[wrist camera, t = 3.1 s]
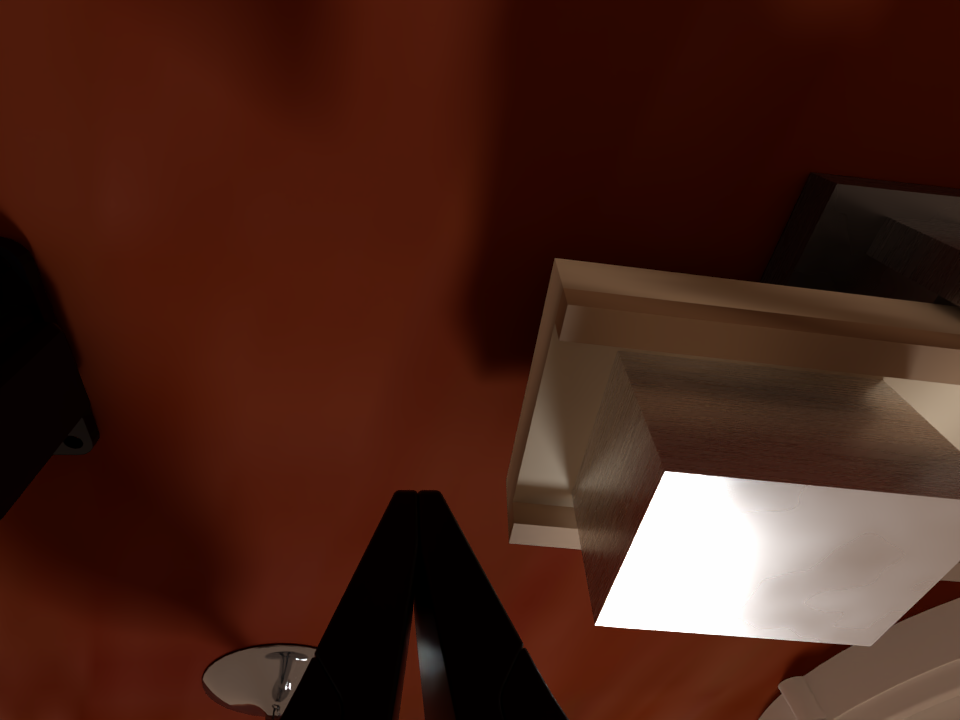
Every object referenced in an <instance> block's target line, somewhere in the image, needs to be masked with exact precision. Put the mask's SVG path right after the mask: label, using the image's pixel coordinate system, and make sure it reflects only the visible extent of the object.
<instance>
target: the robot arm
mask: <svg viewBox="0 0 960 720" xmlns="http://www.w3.org/2000/svg"><path fill="white" fill-rule="evenodd" d="M0 256H2V257H3V258H5V259H6V260H7V261H8V262H9V263H10V265H11V267H9V266H6V265H5V264H3V263H1V262H0V520H1V519H2V518H3V517H4V516H5V514H6V513H7V512H8V510H9V509H10V508H11V507H12V505H13V504H14V503H15V502H16V500H17V499H18V498H19V497H20V495H21V494H22V493H23V491H24V490H25V489H26V488H27V486H28V485H29V484H30V483H31V481H32V480H33V479H34V478H35V476H36V475H37V474H38V472H39V471H40V470H41V469H42V467H43V466H44V465H45V464H46V462H47V461H48V460H49V459H50V457H51V456H52V455H53V454H54V455H81V454H86V453H88V452H90V451H91V450H92V448H93V447H94V445H95V444H96V443H97V441H98V440H99V438H100V437H99V431H98V429H97V426H96V423H95V421H94V418H93V416H92V413H91V410H90V401H89V398H88V396H87V393H86V390H85V388H84V385H83V383H82V380H81V377H80V375H79V372H78V369H77V367H76V364H75V361H74V359H73V356H72V353H71V351H70V348H69V345H68V343H67V340H66V337H65V335H64V332H63V331H62V330H61V329H60V328H59V326H58V323H57V321H56V318H55V315H54V313H53V310H52V307H51V305H50V302H49V299H48V297H47V294H46V292H45V289H44V286H43V284H42V281H41V278H40V276H39V273H38V270H37V268H36V265H35V263H34V260H33V258H32V256H31V255H30V253H29V251H28V250H27V249H25V248H24V247H23V246H22V245H21V244H19V243H17V242H15V241H14V240H12V239H8V238H3V237H0ZM74 436H76V437H78V438H76V437H74ZM413 604H414V614H415V626H416V636H417V646H418V655H419V665H420V675H421V684H422V694H423V704H424V714H425V720H569V719H568V718H567V716H566V715H565V713H564V712H563V710H562V709H561V707H560V706H559V704H558V703H557V701H556V700H555V698H554V697H553V695H552V693H551V691H550V690H549V688H548V686H547V685H546V683H545V681H544V679H543V678H542V676H541V674H540V673H539V671H538V669H537V667H536V666H535V664H534V662H533V660H532V658H531V656H530V655H529V653H528V651H527V649H526V648H523V642H522V640H521V638H520V637H519V635H518V633H517V631H516V629H515V627H514V626H513V624H512V622H511V620H510V618H509V616H508V615H507V613H506V611H505V609H504V607H503V605H502V604H501V602H500V600H499V598H498V596H497V594H496V593H495V591H494V589H493V587H492V585H491V583H490V582H489V580H488V578H487V576H486V574H485V572H484V571H483V569H482V567H481V565H480V563H479V561H478V560H477V558H476V556H475V554H474V552H473V550H472V549H471V547H470V545H469V543H468V541H467V539H466V538H465V536H464V534H463V532H462V530H461V528H460V527H459V525H458V523H457V521H456V519H455V517H454V516H453V514H452V512H451V510H450V508H449V506H448V505H447V503H446V501H445V499H444V497H443V495H442V494H441V493H440V492H439V491H437V490H421V491H419V492H418V494H417V492H416V491H414V490H398V491H396V492H395V493H394V495H393V497H392V499H391V501H390V503H389V505H388V507H387V509H386V511H385V513H384V515H383V517H382V519H381V521H380V523H379V525H378V527H377V529H376V531H375V533H374V535H373V537H372V539H371V541H370V543H369V545H368V547H367V549H366V551H365V553H364V555H363V557H362V559H361V561H360V563H359V565H358V567H357V569H356V571H355V573H354V575H353V577H352V579H351V581H350V583H349V585H348V587H347V589H346V591H345V593H344V595H343V597H342V599H341V601H340V603H339V605H338V607H337V609H336V611H335V613H334V615H333V617H332V619H331V621H330V623H329V625H328V627H327V629H326V631H325V633H324V635H323V637H322V639H321V641H320V643H319V645H318V647H317V649H316V651H315V653H314V657H313V658H312V659H311V660H310V662H309V664H308V666H307V668H306V670H305V672H304V674H303V676H302V678H301V680H300V682H299V684H298V686H297V688H296V690H295V691H294V693H293V695H292V697H291V699H290V701H289V703H288V705H287V706H286V708H285V710H284V712H283V714H282V716H281V717H280V719H279V720H399V712H400V705H401V697H402V690H403V683H404V675H405V668H406V660H407V653H408V645H409V638H410V631H411V623H412V614H413Z"/></svg>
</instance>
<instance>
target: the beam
mask: <svg viewBox="0 0 960 720" xmlns="http://www.w3.org/2000/svg"><path fill="white" fill-rule="evenodd" d="M618 351H626V352H635V353H644V354H653V355H662V356H671V357H680V358H689V359H698V360H707V361H716V362H725V363H734V364H743V365H752V366H761V367H770V368H779V369H789V370H798V371H807V372H816V373H825V374H834V375H843V376H852V377H861V378H870V379H879V380H884V381H885V382H886V383H887V384H888V385H889V386H890V387H891V388H892V389H894V390H895V391H896V392H897V393H898V394H899V395H900V396H901V397H902V398H903V399H904V400H905V401H906V402H908V403H909V404H910V405H911V406H912V407H913V408H914V409H915V410H916V411H917V412H918V413H919V414H920V415H921V416H923V417H924V418H925V419H926V420H927V421H928V422H929V423H930V424H931V425H932V426H933V427H934V428H935V429H937V430H938V431H939V432H940V433H941V434H942V435H943V436H944V437H945V438H946V439H947V440H948V441H949V442H950V443H952V444H953V445H954V446H955V447H956V448H957V449H958V450H959V451H960V307H959V306H957V305H955V304H954V303H952V302H950V301H948V300H946V299H945V298H943V297H941V296H939V295H938V296H937V298H936V299H935V301H934V302H933V304H932V303H923V302H915V301H907V300H899V299H890V298H882V297H874V296H866V295H857V294H849V293H841V292H833V291H824V290H816V289H808V288H799V287H791V286H783V285H775V284H766V283H758V282H750V281H742V280H733V279H725V278H717V277H709V276H700V275H692V274H684V273H675V272H667V271H659V270H651V269H642V268H634V267H626V266H618V265H609V264H601V263H593V262H585V261H576V260H568V259H560V258H555V259H554V263H553V268H552V273H551V277H550V282H549V286H548V291H547V296H546V300H545V305H544V309H543V314H542V318H541V323H540V328H539V332H538V337H537V341H536V346H535V351H534V355H533V360H532V364H531V369H530V373H529V378H528V383H527V387H526V392H525V396H524V401H523V406H522V410H521V415H520V419H519V424H518V428H517V433H516V438H515V442H514V447H513V451H512V456H511V461H510V465H509V470H508V474H507V479H506V487H507V509H508V531H509V543H512V544H524V545H536V546H548V547H559V548H571V549H581V545H580V539H579V534H578V528H577V523H576V517H575V511H574V506H573V500H572V495H571V494H572V491H573V488H574V484H575V481H576V478H577V475H578V472H579V469H580V466H581V463H582V460H583V457H584V454H585V451H586V448H587V444H588V441H589V438H590V435H591V432H592V429H593V426H594V423H595V420H596V417H597V414H598V411H599V408H600V404H601V401H602V398H603V395H604V392H605V389H606V386H607V383H608V380H609V377H610V374H611V371H612V368H613V364H614V361H615V358H616V355H617V352H618ZM940 580H945V581H957V582H960V561H959V562H958V563H957V564H956V565H955V566H954V567H953V568H952V569H951V570H950V571H949V572H948V573H947V574H946V575H945V576H944V577H943V578H942V579H940Z"/></svg>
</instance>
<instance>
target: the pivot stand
mask: <svg viewBox="0 0 960 720" xmlns="http://www.w3.org/2000/svg"><path fill="white" fill-rule="evenodd" d="M760 283H766V284H775V285H783V286H791V287H799V288H808V289H816V290H824V291H833V292H841V293H849V294H857V295H866V296H874V297H882V298H890V299H899V300H907V301H915V302H923V303H932V304H933V302H934V301H935V299H936V298H937V296H938V295H939V296H941V297H943V298H945V299H946V300H948V301H950V302H952V303H954V304H955V305H957V306H959V307H960V189H955V188H947V187H938V186H929V185H920V184H911V183H902V182H893V181H884V180H875V179H866V178H857V177H848V176H839V175H830V174H821V173H812V172H811V174H810V176H809V178H808V180H807V182H806V184H805V187H804V189H803V191H802V193H801V195H800V197H799V199H798V202H797V204H796V206H795V208H794V210H793V212H792V215H791V217H790V219H789V221H788V223H787V225H786V227H785V230H784V232H783V234H782V236H781V238H780V240H779V242H778V245H777V247H776V249H775V251H774V253H773V255H772V257H771V260H770V262H769V264H768V266H767V268H766V270H765V272H764V275H763V277H762V279H761V281H760Z"/></svg>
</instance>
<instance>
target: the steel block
mask: <svg viewBox="0 0 960 720" xmlns="http://www.w3.org/2000/svg"><path fill="white" fill-rule="evenodd" d="M571 495H572V500H573V506H574V511H575V517H576V523H577V528H578V534H579V539H580V545H581V551H582V556H583V562H584V567H585V573H586V578H587V584H588V590H589V595H590V601H591V606H592V612H593V618H594V623H595V625H596V626H610V627H623V628H636V629H649V630H662V631H675V632H688V633H701V634H714V635H728V636H741V637H754V638H767V639H780V640H793V641H806V642H819V643H832V644H846V645H859V646H872V645H873V644H874V643H875V642H876V641H877V640H878V639H879V638H880V637H881V636H882V635H883V634H884V633H885V632H886V631H887V630H888V629H889V628H890V627H891V626H892V625H894V624H895V623H896V622H897V621H898V620H899V619H900V618H901V617H902V616H903V615H904V614H905V613H906V612H907V611H908V610H909V609H910V608H911V607H912V606H913V605H914V604H915V603H916V602H918V601H919V600H920V599H921V598H922V597H923V596H924V595H925V594H926V593H927V592H928V591H929V590H930V589H931V588H932V587H933V586H934V585H935V584H936V583H937V582H938V581H939V580H940V579H942V578H943V577H944V576H945V575H946V574H947V573H948V572H949V571H950V570H951V569H952V568H953V567H954V566H955V565H956V564H957V563H958V562H959V561H960V451H959V450H958V449H957V448H956V447H955V446H954V445H953V444H952V443H950V442H949V441H948V440H947V439H946V438H945V437H944V436H943V435H942V434H941V433H940V432H939V431H938V430H937V429H935V428H934V427H933V426H932V425H931V424H930V423H929V422H928V421H927V420H926V419H925V418H924V417H923V416H921V415H920V414H919V413H918V412H917V411H916V410H915V409H914V408H913V407H912V406H911V405H910V404H909V403H908V402H906V401H905V400H904V399H903V398H902V397H901V396H900V395H899V394H898V393H897V392H896V391H895V390H894V389H892V388H891V387H890V386H889V385H888V384H887V383H886V382H885V381H884V380H879V379H870V378H861V377H852V376H843V375H834V374H825V373H816V372H807V371H798V370H789V369H779V368H770V367H761V366H752V365H743V364H734V363H725V362H716V361H707V360H698V359H689V358H680V357H671V356H662V355H653V354H644V353H635V352H626V351H618V352H617V355H616V358H615V361H614V364H613V368H612V371H611V374H610V377H609V380H608V383H607V386H606V389H605V392H604V395H603V398H602V401H601V404H600V408H599V411H598V414H597V417H596V420H595V423H594V426H593V429H592V432H591V435H590V438H589V441H588V444H587V448H586V451H585V454H584V457H583V460H582V463H581V466H580V469H579V472H578V475H577V478H576V481H575V484H574V488H573V491H572V494H571Z"/></svg>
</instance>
